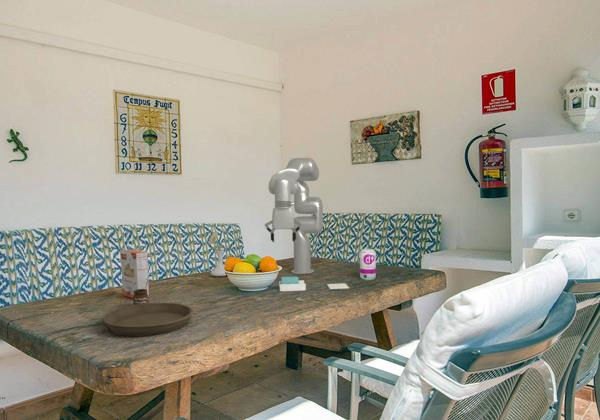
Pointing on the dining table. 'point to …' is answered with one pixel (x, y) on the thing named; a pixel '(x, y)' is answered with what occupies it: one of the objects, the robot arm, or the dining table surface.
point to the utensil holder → (140, 295)
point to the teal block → (289, 280)
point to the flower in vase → (220, 267)
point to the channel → (292, 286)
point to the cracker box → (134, 271)
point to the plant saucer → (147, 318)
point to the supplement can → (367, 264)
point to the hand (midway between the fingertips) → (283, 241)
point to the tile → (337, 286)
